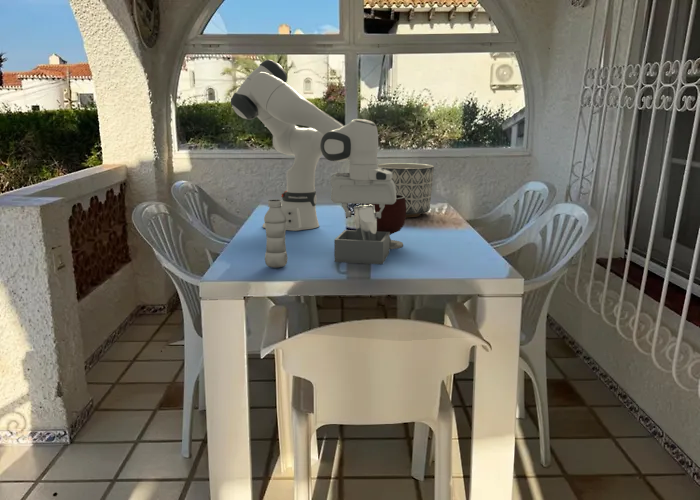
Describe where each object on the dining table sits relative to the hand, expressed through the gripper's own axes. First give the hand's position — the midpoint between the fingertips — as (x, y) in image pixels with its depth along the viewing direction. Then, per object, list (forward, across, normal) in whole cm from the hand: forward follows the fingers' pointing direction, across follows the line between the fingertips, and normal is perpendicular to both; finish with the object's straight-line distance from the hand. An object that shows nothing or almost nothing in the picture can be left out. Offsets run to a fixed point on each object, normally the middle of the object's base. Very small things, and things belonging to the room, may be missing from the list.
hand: (363, 217), depth 181 cm
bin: (+13, 0, 0) cm, 13 cm away
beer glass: (+12, +2, 0) cm, 12 cm away
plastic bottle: (+13, -23, -17) cm, 32 cm away
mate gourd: (+13, +4, +19) cm, 23 cm away
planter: (+13, +4, +81) cm, 82 cm away
